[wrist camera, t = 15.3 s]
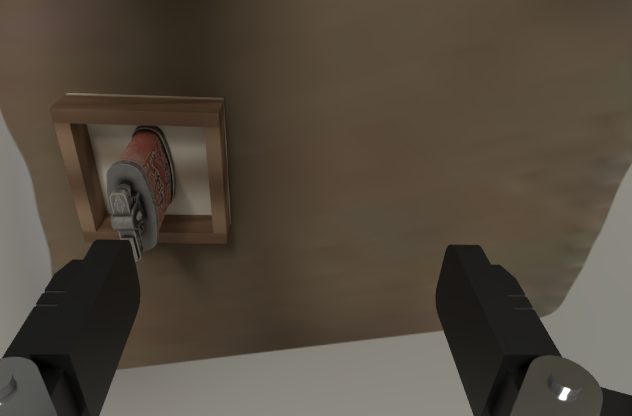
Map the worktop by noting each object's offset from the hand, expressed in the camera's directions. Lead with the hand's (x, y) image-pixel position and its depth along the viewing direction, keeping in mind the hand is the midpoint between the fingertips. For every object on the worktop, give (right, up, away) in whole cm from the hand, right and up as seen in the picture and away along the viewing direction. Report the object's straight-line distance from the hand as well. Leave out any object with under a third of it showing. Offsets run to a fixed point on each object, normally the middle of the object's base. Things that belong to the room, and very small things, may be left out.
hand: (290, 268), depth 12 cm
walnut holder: (-14, +6, +32) cm, 35 cm away
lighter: (-14, +6, +31) cm, 35 cm away
